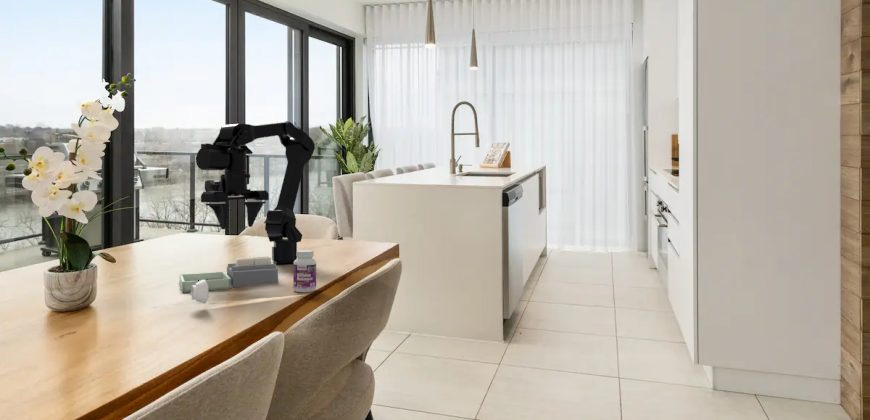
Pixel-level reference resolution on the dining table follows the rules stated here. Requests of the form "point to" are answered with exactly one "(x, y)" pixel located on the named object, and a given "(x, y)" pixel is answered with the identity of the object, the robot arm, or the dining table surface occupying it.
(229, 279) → the tray
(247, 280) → the bench board
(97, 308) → the dining table surface
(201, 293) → the white flared knob
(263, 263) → the tile
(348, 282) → the dining table surface
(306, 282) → the pill bottle
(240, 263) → the tile
